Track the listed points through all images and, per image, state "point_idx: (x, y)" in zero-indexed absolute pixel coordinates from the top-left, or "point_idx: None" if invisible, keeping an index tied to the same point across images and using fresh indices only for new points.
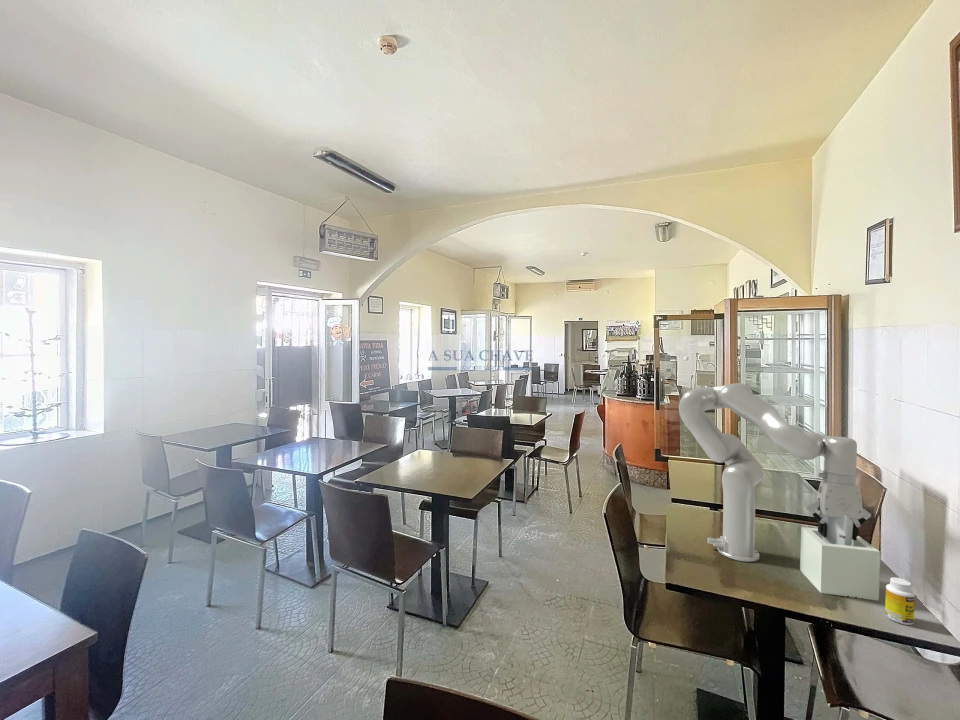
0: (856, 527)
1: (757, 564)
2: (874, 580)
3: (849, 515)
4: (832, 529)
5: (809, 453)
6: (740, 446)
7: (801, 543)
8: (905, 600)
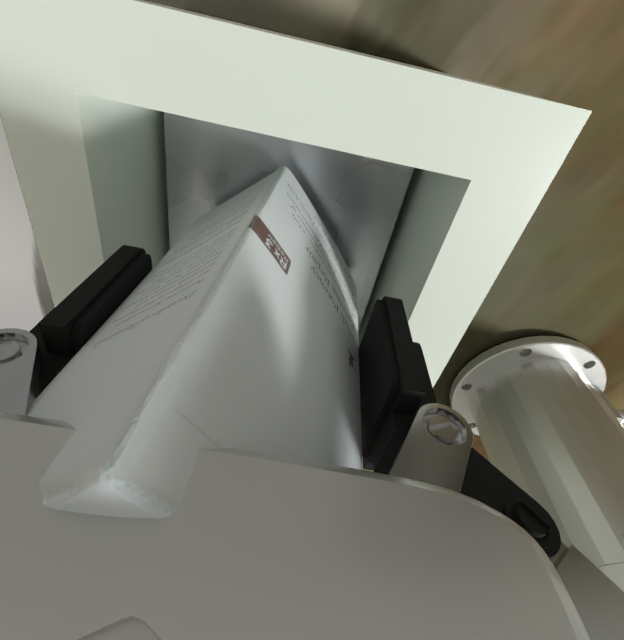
0: (44, 325)
1: (517, 321)
2: (164, 5)
3: (24, 490)
4: (321, 345)
5: None
6: None
7: None
8: None
